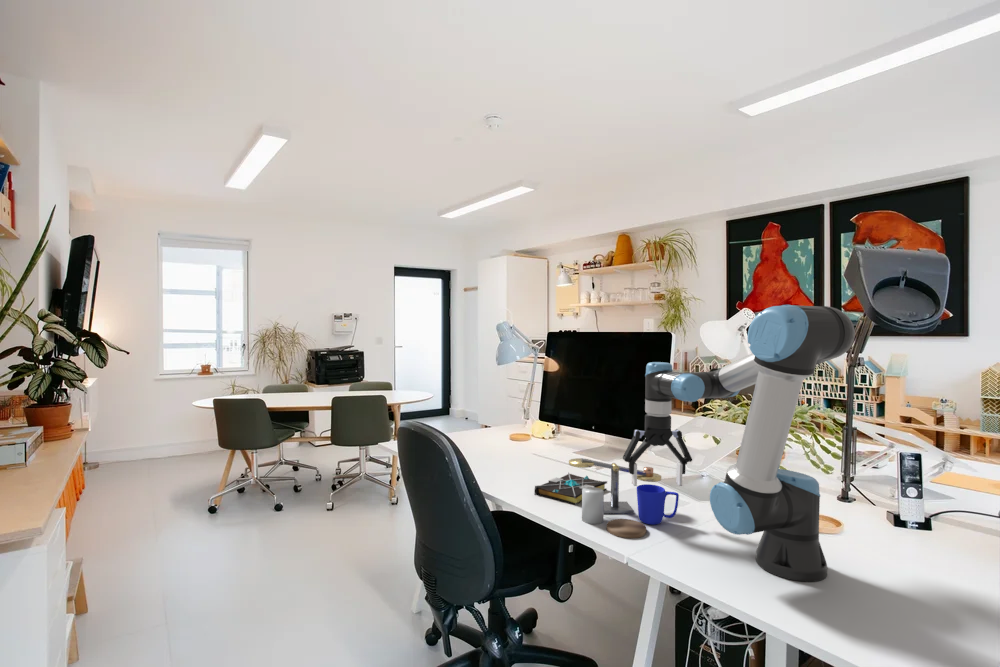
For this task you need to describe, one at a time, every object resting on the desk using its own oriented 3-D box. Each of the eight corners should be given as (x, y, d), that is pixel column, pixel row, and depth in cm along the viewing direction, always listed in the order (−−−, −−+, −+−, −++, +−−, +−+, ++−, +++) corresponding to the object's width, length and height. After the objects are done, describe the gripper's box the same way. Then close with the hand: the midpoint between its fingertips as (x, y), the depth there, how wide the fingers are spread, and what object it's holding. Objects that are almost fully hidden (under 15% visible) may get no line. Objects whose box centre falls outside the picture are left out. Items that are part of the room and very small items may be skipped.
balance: (664, 513, 161) (665, 461, 160) (570, 514, 160) (571, 462, 160) (656, 504, 169) (656, 455, 168) (566, 505, 168) (566, 455, 167)
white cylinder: (605, 524, 152) (605, 493, 152) (584, 524, 152) (584, 494, 151) (600, 516, 158) (601, 487, 158) (580, 516, 158) (580, 487, 158)
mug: (680, 529, 148) (680, 494, 148) (637, 525, 151) (637, 491, 151) (676, 518, 156) (676, 485, 156) (635, 515, 159) (635, 483, 159)
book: (567, 481, 195) (568, 468, 195) (607, 490, 184) (607, 477, 184) (533, 495, 178) (533, 481, 178) (575, 507, 167) (575, 492, 167)
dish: (651, 538, 142) (651, 533, 142) (611, 538, 142) (612, 534, 142) (639, 522, 153) (639, 518, 153) (602, 523, 153) (602, 519, 152)
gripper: (694, 411, 157) (692, 480, 158) (613, 411, 156) (612, 480, 157) (704, 416, 150) (703, 488, 150) (619, 416, 149) (618, 488, 150)
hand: (656, 484), depth 154 cm, fingers open, 13 cm apart
